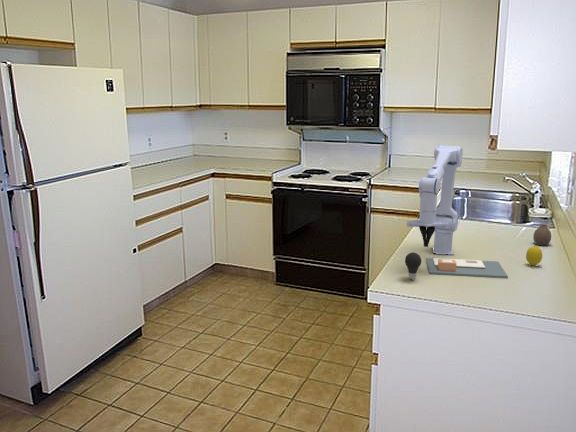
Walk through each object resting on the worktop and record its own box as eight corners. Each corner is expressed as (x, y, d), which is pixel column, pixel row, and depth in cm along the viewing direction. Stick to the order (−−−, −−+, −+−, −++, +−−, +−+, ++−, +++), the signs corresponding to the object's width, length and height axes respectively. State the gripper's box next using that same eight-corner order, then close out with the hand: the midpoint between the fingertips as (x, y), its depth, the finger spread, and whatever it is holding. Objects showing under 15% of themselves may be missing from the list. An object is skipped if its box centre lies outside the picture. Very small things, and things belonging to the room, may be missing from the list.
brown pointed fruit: (534, 246, 215) (536, 226, 213) (530, 241, 222) (533, 222, 220) (552, 247, 214) (554, 227, 211) (548, 242, 220) (550, 223, 218)
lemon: (527, 262, 196) (529, 242, 194) (542, 265, 192) (545, 245, 190) (523, 266, 192) (525, 246, 190) (538, 269, 188) (541, 248, 186)
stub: (437, 266, 189) (438, 258, 188) (454, 267, 188) (455, 259, 187) (438, 270, 185) (439, 262, 185) (455, 271, 184) (456, 263, 184)
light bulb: (408, 283, 176) (410, 256, 173) (401, 277, 181) (402, 251, 179) (423, 281, 177) (424, 254, 175) (415, 276, 183) (416, 249, 180)
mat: (425, 259, 200) (426, 257, 199) (498, 263, 195) (498, 261, 194) (429, 274, 184) (429, 272, 184) (507, 278, 179) (507, 276, 179)
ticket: (432, 259, 197) (433, 257, 197) (481, 261, 194) (481, 260, 194) (434, 266, 190) (435, 264, 190) (485, 269, 187) (485, 267, 186)
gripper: (407, 212, 180) (406, 248, 184) (450, 213, 178) (447, 250, 181) (407, 207, 187) (405, 242, 190) (447, 209, 184) (445, 244, 188)
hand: (425, 246), depth 186 cm, fingers closed
